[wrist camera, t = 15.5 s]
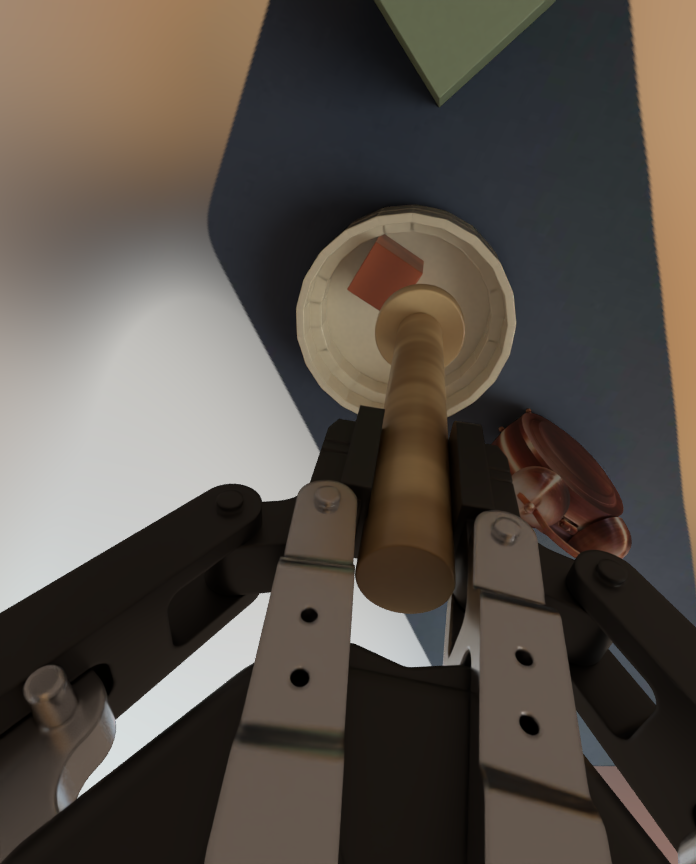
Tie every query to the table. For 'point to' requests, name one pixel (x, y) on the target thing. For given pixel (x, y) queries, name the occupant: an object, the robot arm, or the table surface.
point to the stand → (456, 35)
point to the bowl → (443, 267)
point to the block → (385, 272)
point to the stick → (412, 457)
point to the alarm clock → (563, 488)
